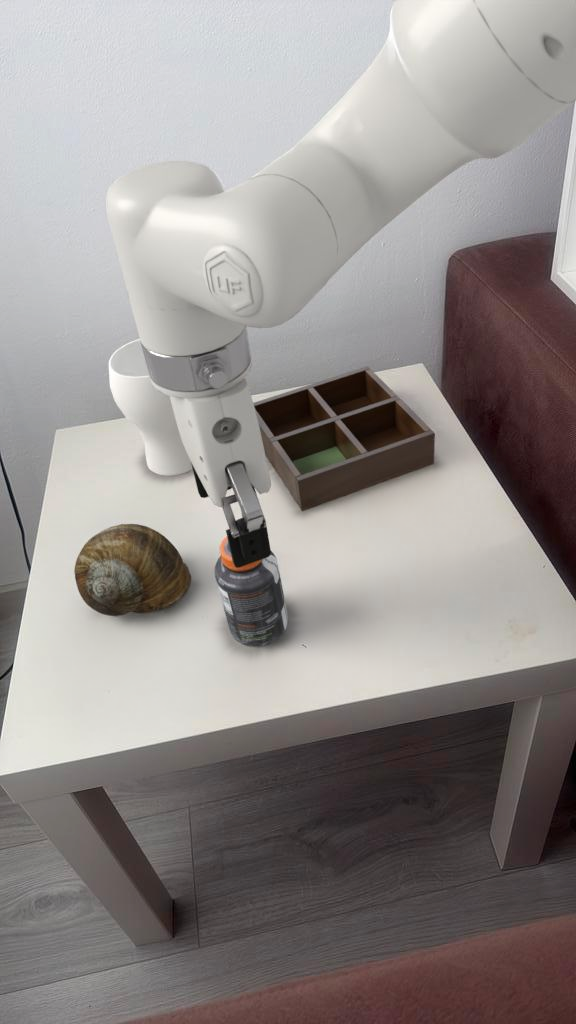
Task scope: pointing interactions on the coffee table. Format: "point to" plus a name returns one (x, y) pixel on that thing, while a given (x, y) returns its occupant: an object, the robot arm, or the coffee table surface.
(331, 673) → the coffee table surface
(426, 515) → the coffee table surface
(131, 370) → the cup
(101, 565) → the seashell
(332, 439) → the compartment tray
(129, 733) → the coffee table surface
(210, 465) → the robot arm
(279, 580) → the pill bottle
